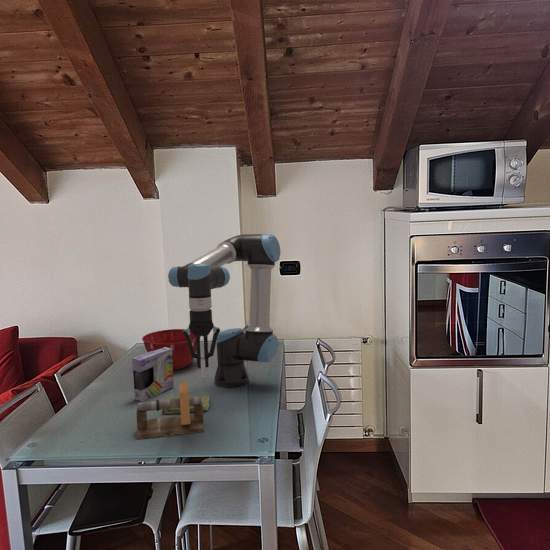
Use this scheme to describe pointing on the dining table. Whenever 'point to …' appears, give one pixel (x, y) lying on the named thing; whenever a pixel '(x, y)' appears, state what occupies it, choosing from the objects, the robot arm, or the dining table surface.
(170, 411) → the washcloth
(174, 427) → the rod stand
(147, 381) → the cake pan box
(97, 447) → the dining table surface
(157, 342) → the mixing bowl
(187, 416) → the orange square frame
